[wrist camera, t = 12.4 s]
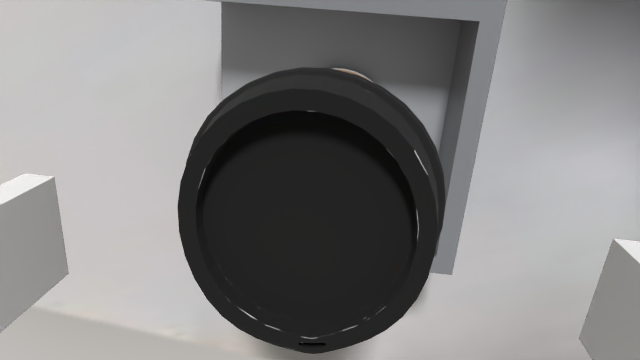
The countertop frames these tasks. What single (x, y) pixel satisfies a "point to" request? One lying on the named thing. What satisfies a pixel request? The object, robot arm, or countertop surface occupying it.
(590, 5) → the countertop surface
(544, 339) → the countertop surface
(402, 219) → the coffee cup
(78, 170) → the countertop surface
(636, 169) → the countertop surface
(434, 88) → the dock
